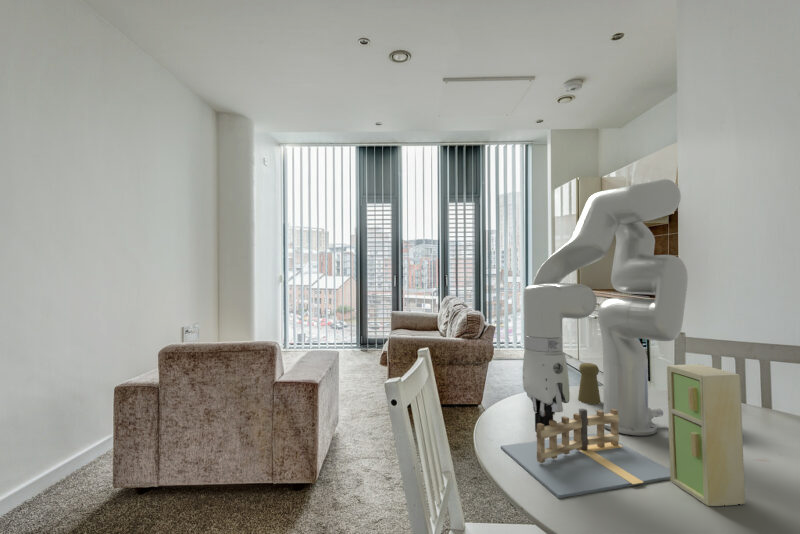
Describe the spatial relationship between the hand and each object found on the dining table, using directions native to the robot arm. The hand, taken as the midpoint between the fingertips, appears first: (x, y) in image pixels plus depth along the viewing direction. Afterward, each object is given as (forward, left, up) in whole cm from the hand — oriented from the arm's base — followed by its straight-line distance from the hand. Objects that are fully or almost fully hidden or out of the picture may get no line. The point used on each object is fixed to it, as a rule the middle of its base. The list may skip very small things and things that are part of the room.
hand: (544, 432), depth 78 cm
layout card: (-6, +4, -5) cm, 9 cm away
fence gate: (-2, +2, -4) cm, 5 cm away
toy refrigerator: (-18, +19, -5) cm, 26 cm away
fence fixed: (-13, +1, -5) cm, 14 cm away
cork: (-34, -26, -5) cm, 43 cm away
